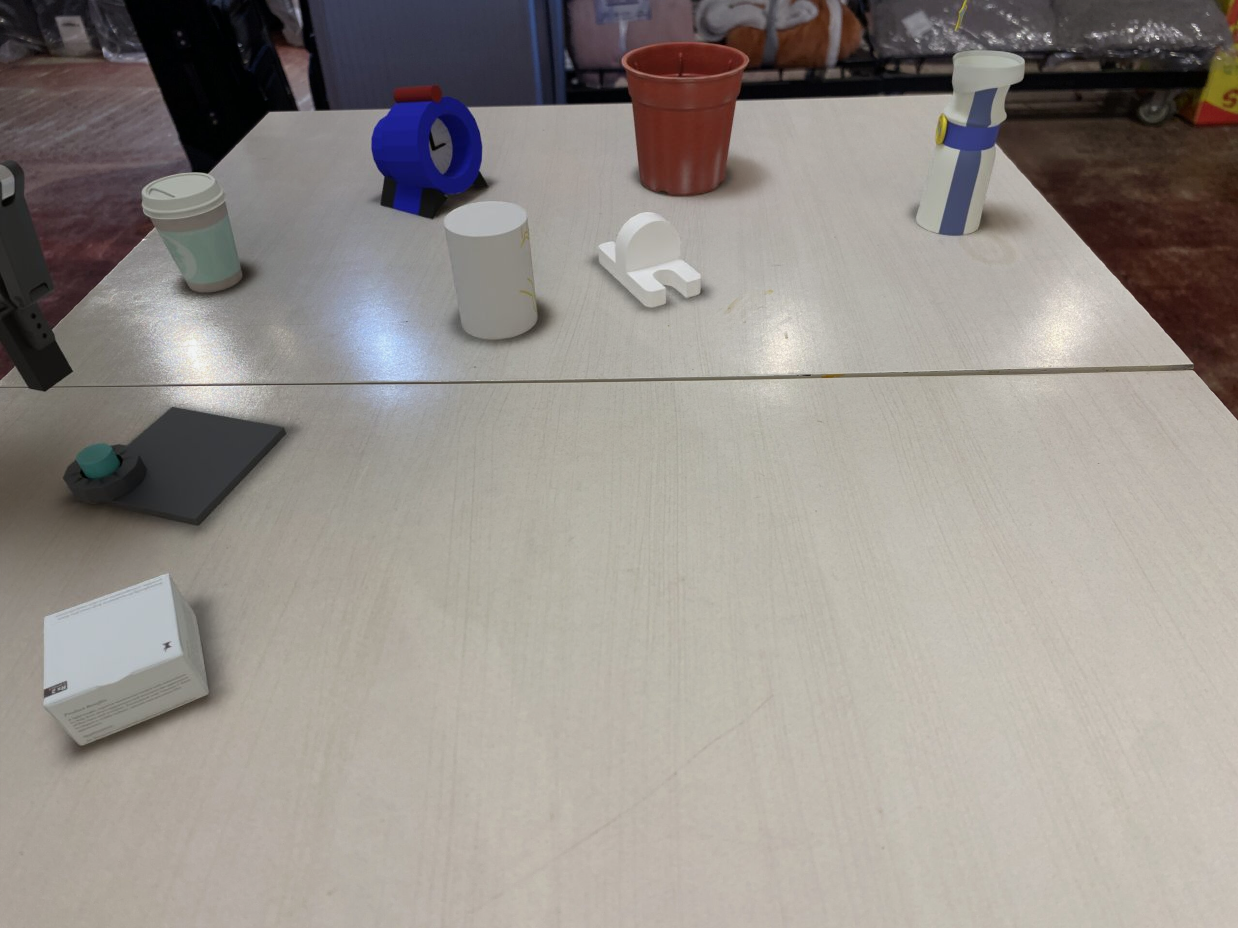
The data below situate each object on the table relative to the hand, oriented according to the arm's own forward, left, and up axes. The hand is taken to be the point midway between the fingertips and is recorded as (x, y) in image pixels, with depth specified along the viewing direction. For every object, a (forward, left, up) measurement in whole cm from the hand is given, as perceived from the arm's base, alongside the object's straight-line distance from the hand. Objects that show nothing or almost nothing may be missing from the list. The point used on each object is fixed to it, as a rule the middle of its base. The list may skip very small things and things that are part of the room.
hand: (51, 379), depth 61 cm
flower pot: (+31, +76, -12) cm, 83 cm away
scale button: (0, 0, -9) cm, 9 cm away
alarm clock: (-2, +63, -12) cm, 64 cm away
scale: (+4, +4, -11) cm, 13 cm away
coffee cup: (-15, +33, -12) cm, 38 cm away
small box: (+16, -15, -12) cm, 25 cm away
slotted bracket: (+34, +46, -12) cm, 58 cm away
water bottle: (+67, +70, -12) cm, 98 cm away
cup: (+21, +33, -12) cm, 41 cm away
